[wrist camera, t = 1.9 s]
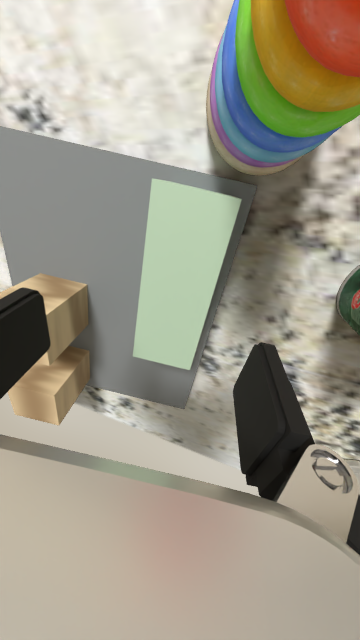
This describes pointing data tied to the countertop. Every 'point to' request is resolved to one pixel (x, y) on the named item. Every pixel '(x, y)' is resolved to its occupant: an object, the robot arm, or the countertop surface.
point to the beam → (180, 269)
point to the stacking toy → (283, 80)
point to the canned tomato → (350, 300)
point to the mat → (100, 246)
